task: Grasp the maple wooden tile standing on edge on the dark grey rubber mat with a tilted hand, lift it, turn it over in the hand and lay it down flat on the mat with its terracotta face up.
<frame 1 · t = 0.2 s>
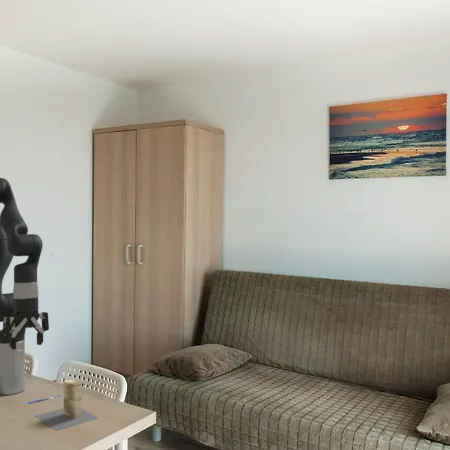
hand: (26, 346, 167), 18 cm above the table, tool pointing down, fingers open, 8 cm apart
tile: (72, 415, 155), point 1 cm above the table, touching mat
mat: (66, 419, 154), on the table
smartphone: (53, 404, 167), on the table
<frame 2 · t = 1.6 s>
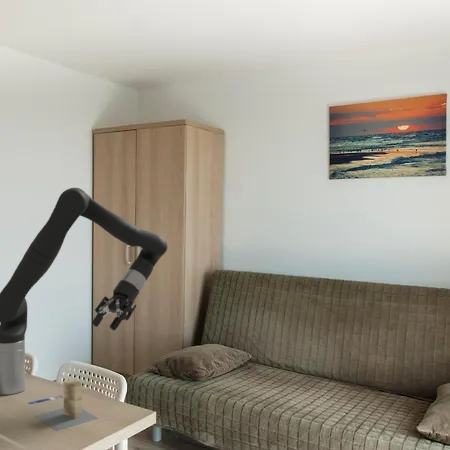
hand: (102, 327, 164), 25 cm above the table, tool tilted 45°, fingers open, 8 cm apart
nothing on the table moved.
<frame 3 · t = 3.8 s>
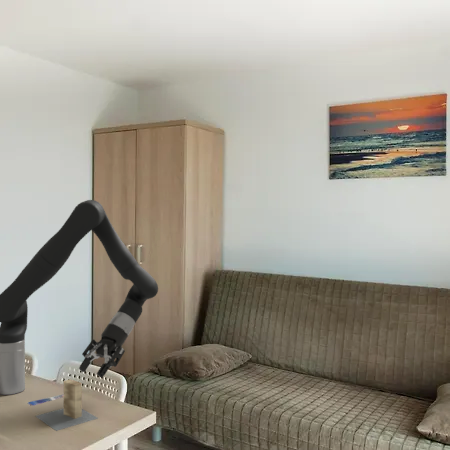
hand: (90, 373, 160), 12 cm above the table, tool tilted 45°, fingers open, 8 cm apart
nothing on the table moved.
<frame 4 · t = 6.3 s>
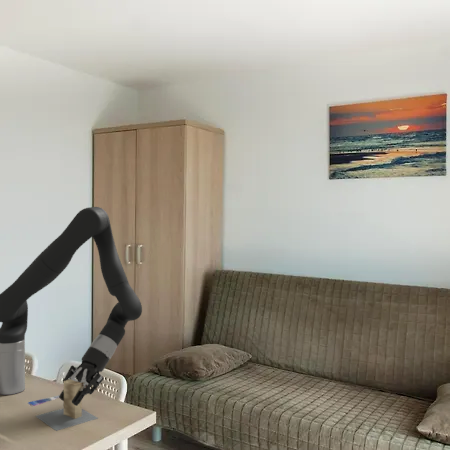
hand: (67, 401, 154), 5 cm above the table, tool tilted 45°, fingers closed on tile, 5 cm apart
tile: (72, 415, 155), point 1 cm above the table, touching gripper, mat
everything else where it was.
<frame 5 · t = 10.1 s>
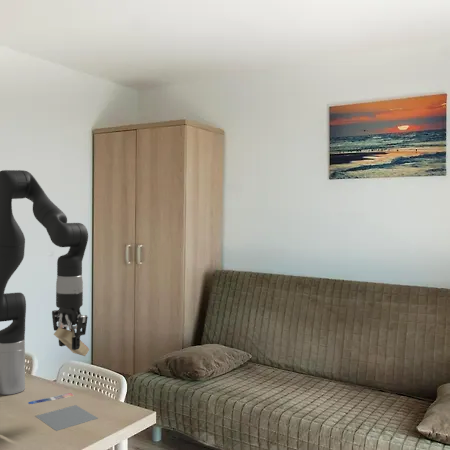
hand: (69, 347, 154), 21 cm above the table, tool pointing down, fingers closed on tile, 5 cm apart
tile: (81, 351, 158), point 19 cm above the table, tilted 45°, touching gripper
everything else where it was.
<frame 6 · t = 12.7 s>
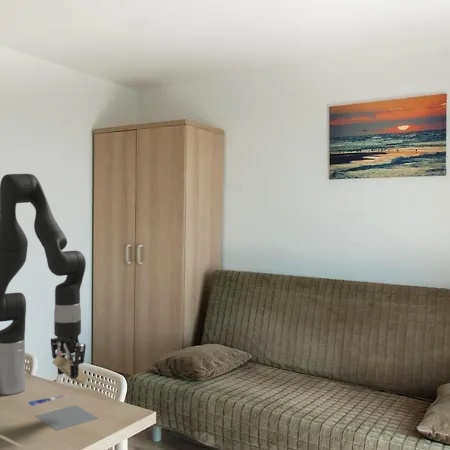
hand: (67, 375, 154), 13 cm above the table, tool pointing down, fingers closed on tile, 5 cm apart
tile: (80, 378, 157), point 11 cm above the table, tilted 45°, touching gripper
everything else where it was.
when the fingers open (5 cm above the table, at t = 14.7 s): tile drops 1 cm and tips over, resting on mat.
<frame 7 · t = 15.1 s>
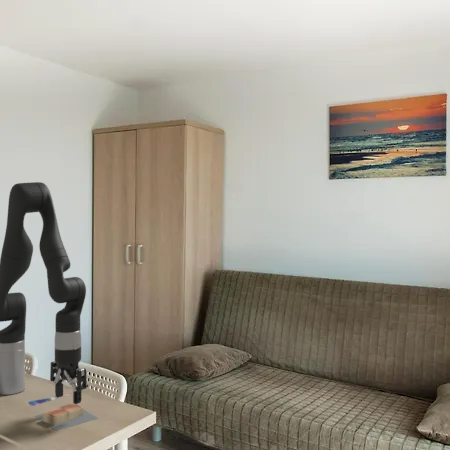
hand: (68, 399, 154), 6 cm above the table, tool pointing down, fingers open, 8 cm apart
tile: (77, 408, 157), point 2 cm above the table, tilted 90°, touching mat
everything else where it was.
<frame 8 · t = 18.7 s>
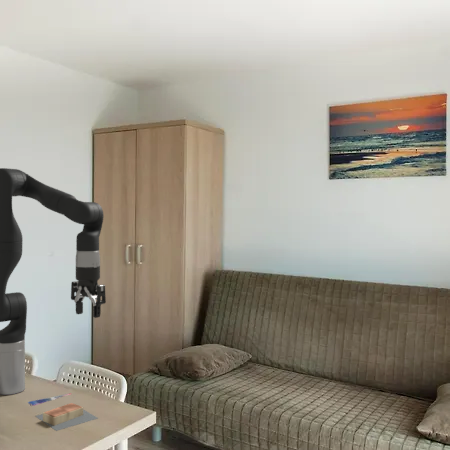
hand: (87, 315, 166), 28 cm above the table, tool pointing down, fingers open, 8 cm apart
nothing on the table moved.
at the end: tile tilted 90°; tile inside the target area on the mat (3.8 cm from its centre), point 1.8 cm above the mat's base; the gripper is holding nothing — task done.
